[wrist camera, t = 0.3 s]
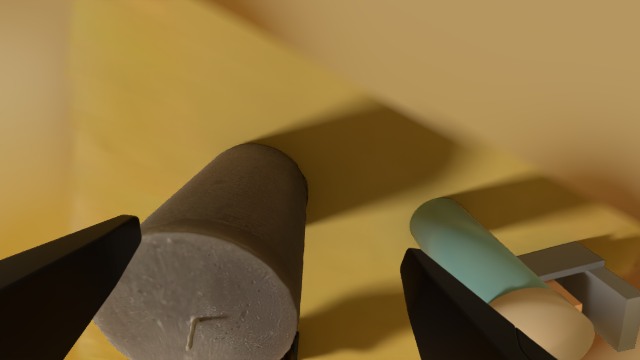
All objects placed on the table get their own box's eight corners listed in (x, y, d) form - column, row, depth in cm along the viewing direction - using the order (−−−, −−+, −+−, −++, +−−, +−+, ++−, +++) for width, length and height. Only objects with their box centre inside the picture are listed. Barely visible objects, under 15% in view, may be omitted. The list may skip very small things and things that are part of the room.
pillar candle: (327, 175, 24) (344, 313, 10) (278, 252, 27) (241, 436, 14) (228, 121, 22) (87, 203, 8) (187, 210, 25) (34, 377, 12)
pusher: (528, 309, 31) (567, 352, 26) (528, 267, 28) (570, 306, 24) (537, 307, 31) (577, 350, 26) (537, 265, 28) (582, 304, 24)
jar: (456, 247, 28) (565, 382, 16) (402, 244, 28) (472, 380, 16) (474, 198, 26) (615, 312, 14) (415, 194, 25) (508, 307, 13)
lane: (452, 327, 33) (484, 385, 27) (443, 275, 29) (477, 328, 23) (571, 299, 31) (633, 353, 25) (576, 241, 28) (647, 288, 22)
